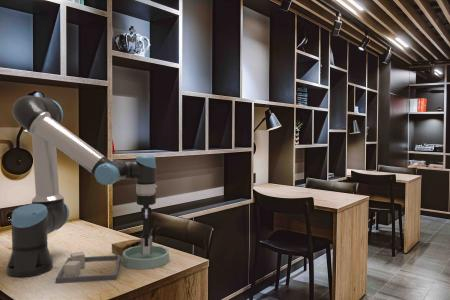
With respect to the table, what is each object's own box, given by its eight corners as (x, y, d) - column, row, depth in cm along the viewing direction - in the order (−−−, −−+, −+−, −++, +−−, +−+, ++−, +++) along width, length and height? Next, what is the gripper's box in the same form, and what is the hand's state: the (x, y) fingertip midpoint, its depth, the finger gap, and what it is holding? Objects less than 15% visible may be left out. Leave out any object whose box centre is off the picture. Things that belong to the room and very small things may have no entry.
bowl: (121, 270, 141) (121, 261, 141) (124, 254, 159) (124, 246, 158) (169, 267, 145) (169, 258, 144) (167, 252, 162) (167, 244, 162)
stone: (118, 258, 154) (118, 245, 154) (110, 252, 162) (110, 240, 162) (152, 252, 163) (152, 240, 163) (143, 246, 171) (143, 235, 171)
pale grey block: (72, 269, 141) (72, 256, 141) (70, 265, 145) (70, 253, 144) (84, 267, 143) (84, 254, 143) (82, 263, 147) (82, 251, 147)
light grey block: (64, 278, 132) (64, 264, 132) (69, 274, 136) (69, 260, 136) (75, 279, 132) (75, 265, 132) (80, 274, 136) (80, 261, 136)
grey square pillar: (141, 254, 149) (140, 239, 148) (141, 250, 153) (141, 236, 153) (152, 253, 150) (152, 239, 149) (152, 250, 154) (152, 235, 154)
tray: (55, 283, 128) (55, 278, 128) (68, 261, 149) (68, 257, 149) (116, 279, 132) (116, 274, 132) (120, 258, 153) (120, 255, 153)
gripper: (156, 197, 142) (156, 258, 144) (155, 190, 159) (155, 244, 161) (135, 198, 141) (136, 259, 142) (137, 190, 158) (137, 245, 159)
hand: (146, 251), depth 151 cm, fingers closed on grey square pillar, 4 cm apart
